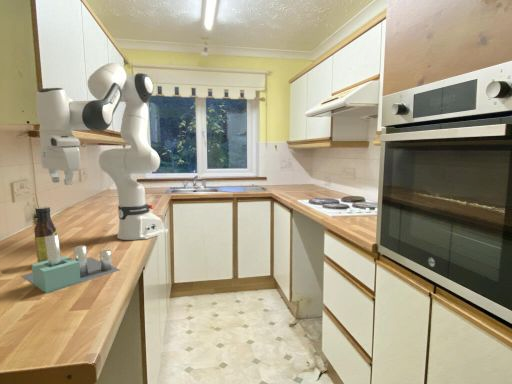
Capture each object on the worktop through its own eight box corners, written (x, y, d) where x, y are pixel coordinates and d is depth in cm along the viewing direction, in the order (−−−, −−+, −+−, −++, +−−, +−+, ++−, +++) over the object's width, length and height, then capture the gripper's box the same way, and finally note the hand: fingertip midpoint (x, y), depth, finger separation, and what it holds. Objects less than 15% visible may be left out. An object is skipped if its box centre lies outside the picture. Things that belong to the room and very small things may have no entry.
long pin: (49, 283, 93) (43, 236, 90) (61, 279, 95) (55, 233, 93) (54, 286, 91) (47, 238, 89) (66, 282, 93) (60, 235, 91)
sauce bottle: (62, 265, 109) (57, 207, 106) (41, 270, 105) (35, 210, 102) (56, 260, 113) (50, 205, 111) (35, 265, 109) (29, 207, 106)
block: (67, 274, 99) (65, 255, 98) (80, 281, 94) (79, 262, 93) (33, 284, 92) (31, 264, 91) (46, 292, 87) (43, 271, 86)
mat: (90, 258, 115) (90, 257, 115) (120, 271, 103) (120, 269, 103) (21, 277, 99) (20, 275, 98) (47, 295, 86) (46, 293, 86)
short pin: (108, 266, 105) (107, 249, 105) (113, 269, 103) (112, 250, 103) (99, 269, 103) (97, 251, 102) (104, 272, 101) (102, 253, 100)
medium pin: (85, 272, 101) (83, 244, 99) (90, 275, 99) (88, 246, 97) (74, 276, 98) (72, 247, 97) (79, 278, 96) (76, 249, 95)
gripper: (33, 140, 106) (38, 182, 108) (60, 140, 94) (65, 187, 96) (54, 140, 111) (58, 179, 113) (82, 140, 99) (87, 185, 101)
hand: (62, 183), depth 105 cm, fingers open, 8 cm apart
